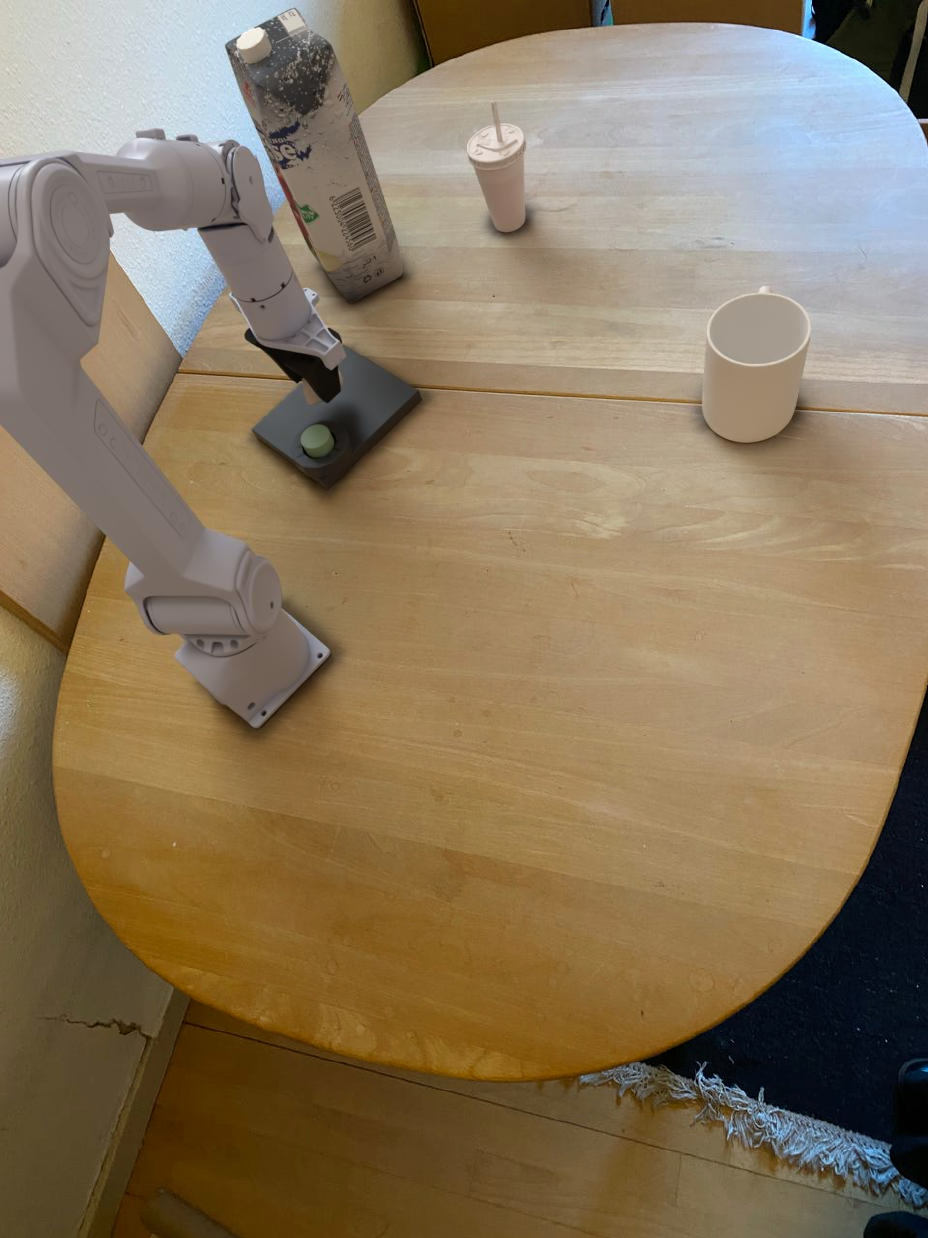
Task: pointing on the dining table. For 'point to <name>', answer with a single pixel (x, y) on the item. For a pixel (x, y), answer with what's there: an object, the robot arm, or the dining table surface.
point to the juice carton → (317, 150)
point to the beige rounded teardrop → (311, 395)
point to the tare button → (317, 441)
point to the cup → (754, 365)
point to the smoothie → (500, 171)
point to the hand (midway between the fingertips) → (317, 386)
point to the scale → (339, 418)
